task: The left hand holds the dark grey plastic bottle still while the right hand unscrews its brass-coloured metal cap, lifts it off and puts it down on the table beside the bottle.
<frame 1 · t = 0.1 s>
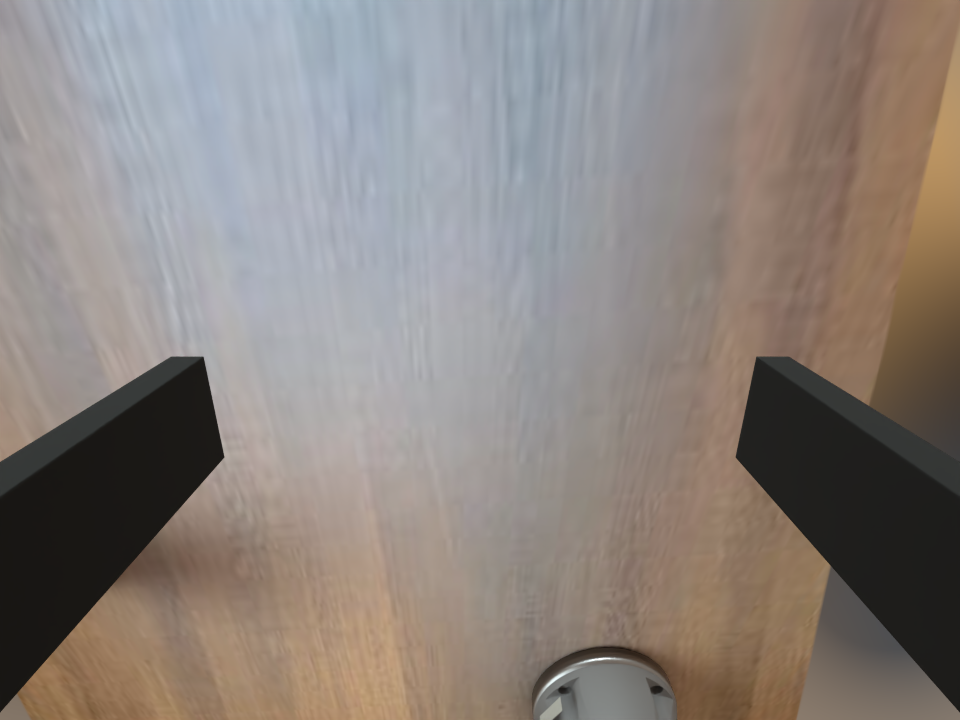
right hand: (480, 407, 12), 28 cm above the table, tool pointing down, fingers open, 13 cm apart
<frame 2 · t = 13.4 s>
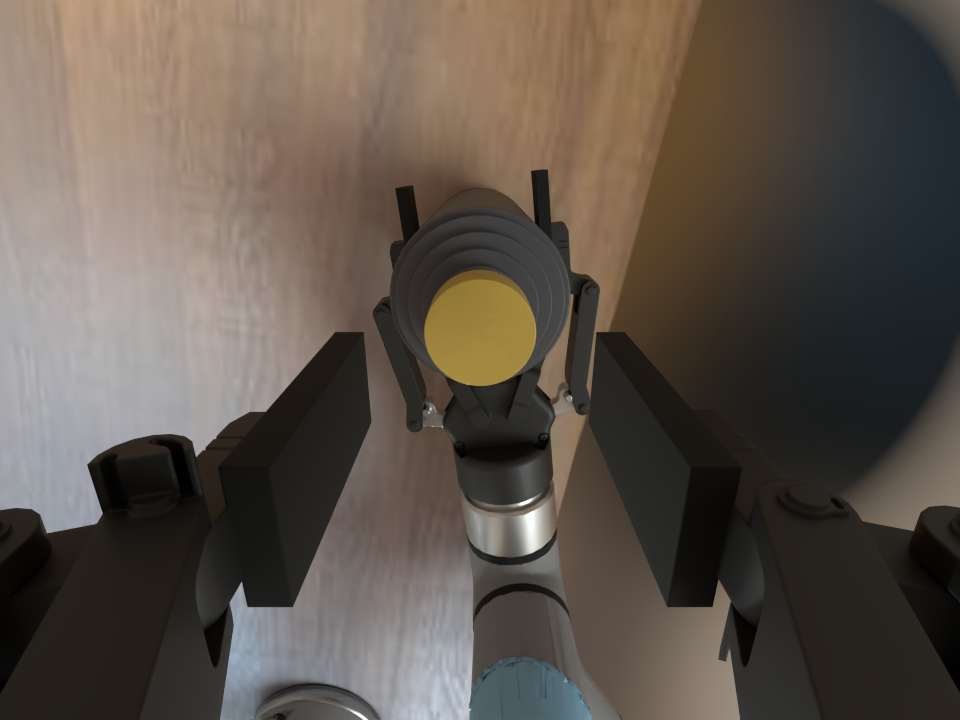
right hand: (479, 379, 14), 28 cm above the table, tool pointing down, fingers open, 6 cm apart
left hand: (471, 179, 32), fingers closed on bottle, 8 cm apart
cap: (480, 332, 18), point 24 cm above the table, screwed on, not yet turned
bottle: (480, 241, 40), on the table, touching left hand
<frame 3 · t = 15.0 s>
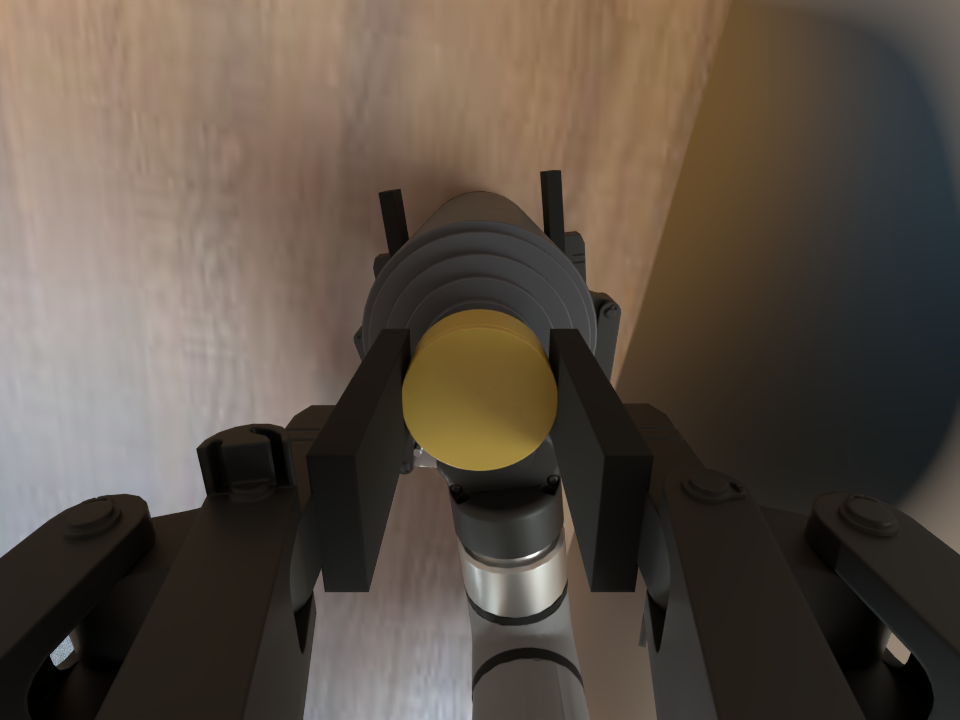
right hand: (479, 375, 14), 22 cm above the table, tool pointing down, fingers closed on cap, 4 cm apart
left hand: (469, 181, 27), fingers closed on bottle, 8 cm apart
cap: (479, 398, 13), point 24 cm above the table, screwed on, not yet turned, touching right hand
bottle: (479, 251, 35), on the table, touching left hand
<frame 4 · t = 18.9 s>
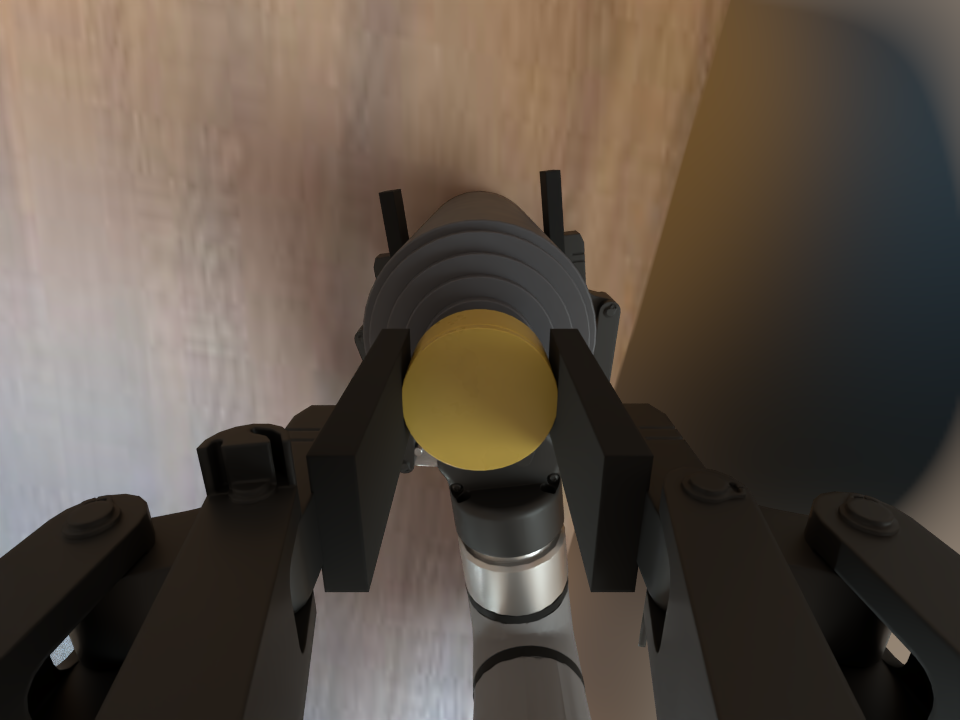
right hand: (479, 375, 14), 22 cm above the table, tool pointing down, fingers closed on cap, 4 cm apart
left hand: (469, 181, 27), fingers closed on bottle, 8 cm apart
cap: (479, 398, 13), point 24 cm above the table, turned 132° so far, risen 0.1 cm, still on its thread, touching right hand
bottle: (479, 251, 35), on the table, touching left hand
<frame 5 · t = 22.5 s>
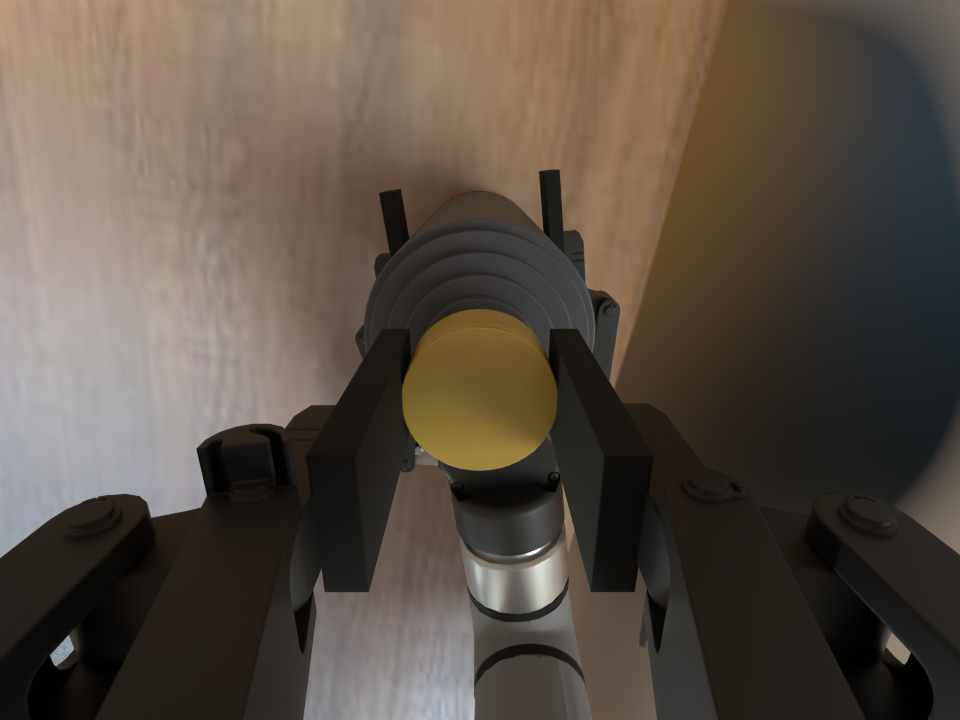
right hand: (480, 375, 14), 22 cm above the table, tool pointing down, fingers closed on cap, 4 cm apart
left hand: (469, 181, 27), fingers closed on bottle, 8 cm apart
cap: (479, 398, 13), point 24 cm above the table, turned 265° so far, risen 0.3 cm, still on its thread, touching right hand
bottle: (479, 251, 35), on the table, touching left hand
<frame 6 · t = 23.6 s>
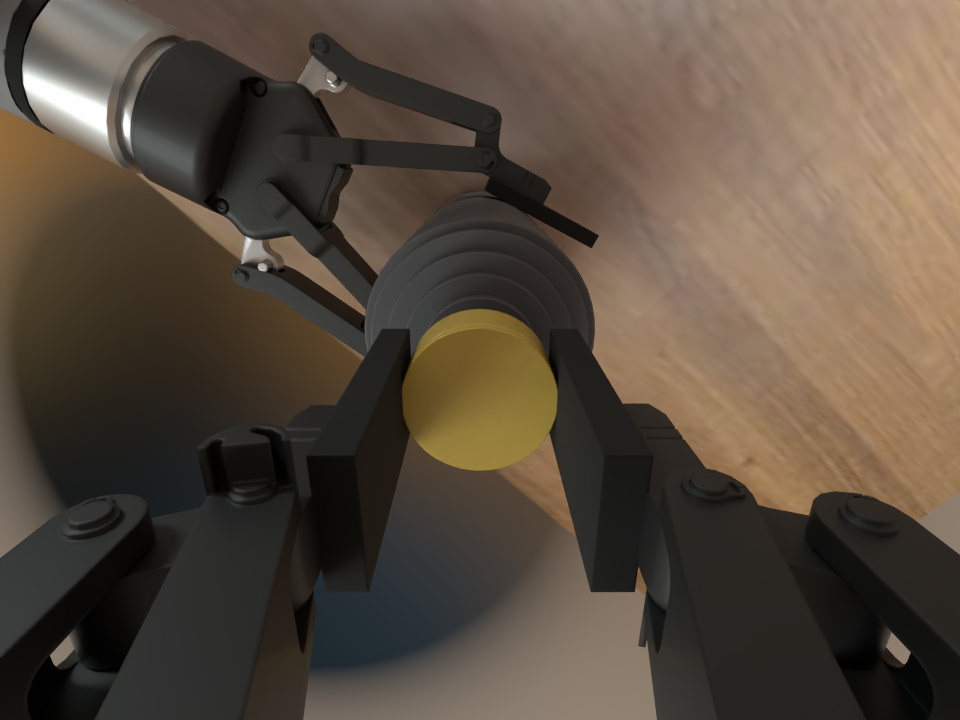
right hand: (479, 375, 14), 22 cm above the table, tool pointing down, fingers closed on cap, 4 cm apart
left hand: (551, 304, 30), fingers closed on bottle, 8 cm apart
cap: (479, 398, 13), point 24 cm above the table, off its thread, touching right hand
bottle: (479, 250, 35), on the table, touching left hand
when the right hand's fingers open (1 cm above the table, at t = 30.0 s): cap stays where it is, point 1 cm above the table.
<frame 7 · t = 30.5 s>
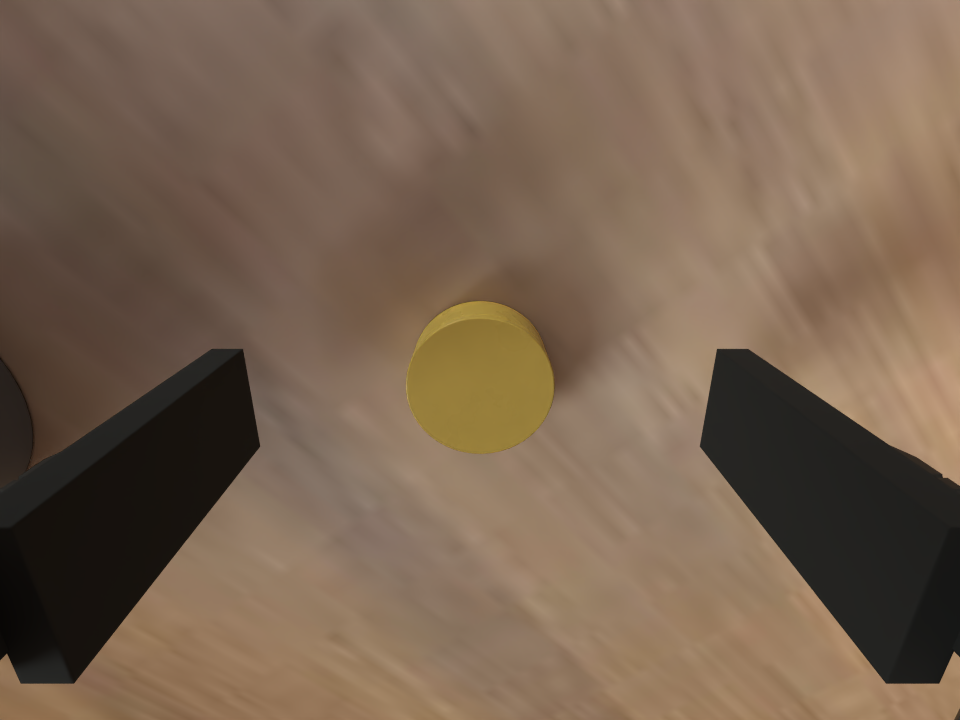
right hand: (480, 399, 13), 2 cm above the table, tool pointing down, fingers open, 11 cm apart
cap: (480, 385, 14), point 1 cm above the table, off its thread
when the left hand's fingers open (6 cm above the table, at t = 31.3 s): bottle stays where it is, on the table.
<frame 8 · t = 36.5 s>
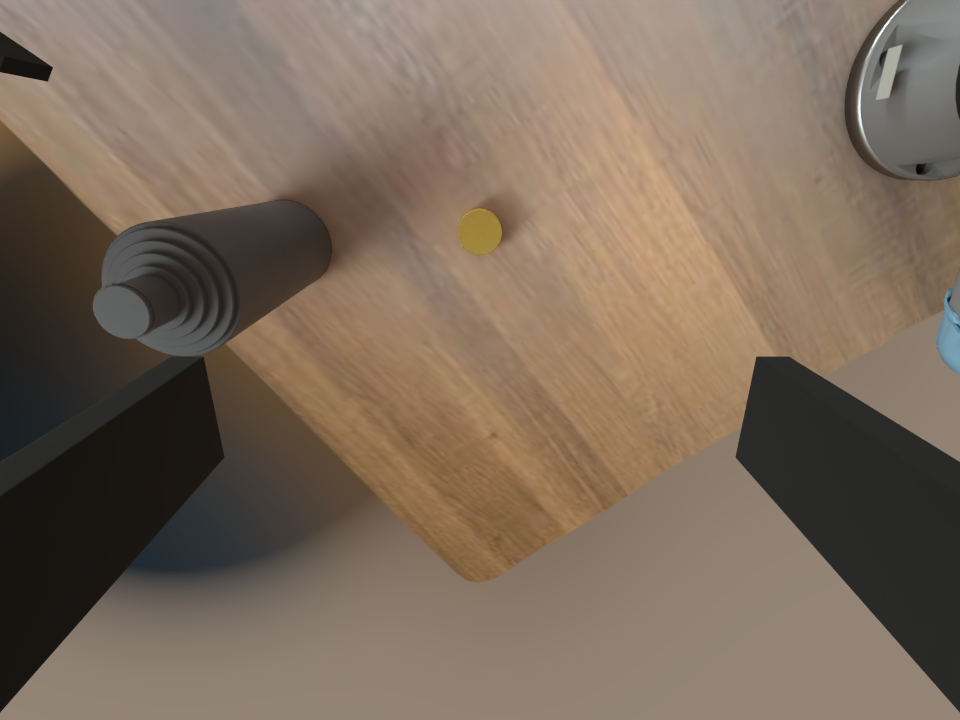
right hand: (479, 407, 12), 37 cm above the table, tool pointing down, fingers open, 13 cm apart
cap: (480, 232, 45), point 1 cm above the table, off its thread
bottle: (289, 244, 47), on the table
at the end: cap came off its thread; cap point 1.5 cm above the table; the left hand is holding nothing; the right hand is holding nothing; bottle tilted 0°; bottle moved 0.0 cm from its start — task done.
